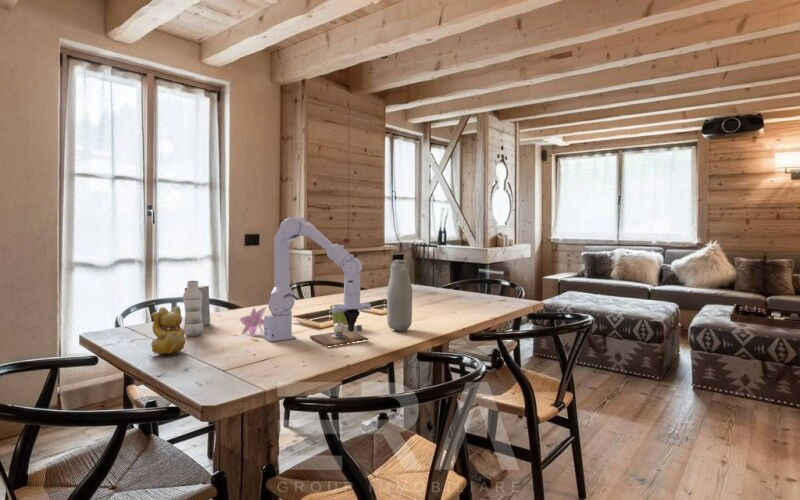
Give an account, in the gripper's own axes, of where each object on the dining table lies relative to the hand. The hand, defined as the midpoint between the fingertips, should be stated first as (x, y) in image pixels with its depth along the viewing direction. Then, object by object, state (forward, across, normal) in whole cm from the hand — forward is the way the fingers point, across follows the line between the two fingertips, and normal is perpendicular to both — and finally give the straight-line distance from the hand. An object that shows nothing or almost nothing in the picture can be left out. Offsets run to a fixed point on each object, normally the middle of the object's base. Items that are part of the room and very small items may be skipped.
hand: (351, 330), depth 164 cm
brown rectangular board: (+4, -3, +4) cm, 6 cm away
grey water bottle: (+4, +24, +5) cm, 25 cm away
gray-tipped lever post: (+1, 0, +2) cm, 2 cm away
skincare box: (+5, -40, +54) cm, 67 cm away
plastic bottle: (+5, -45, +37) cm, 58 cm away
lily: (+5, -25, +29) cm, 39 cm away
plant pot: (+4, +7, +21) cm, 23 cm away
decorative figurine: (+5, -56, +16) cm, 58 cm away
